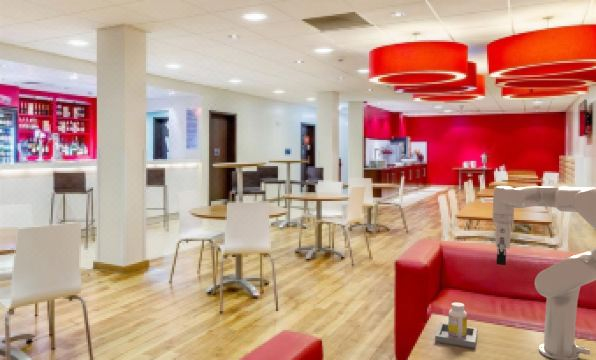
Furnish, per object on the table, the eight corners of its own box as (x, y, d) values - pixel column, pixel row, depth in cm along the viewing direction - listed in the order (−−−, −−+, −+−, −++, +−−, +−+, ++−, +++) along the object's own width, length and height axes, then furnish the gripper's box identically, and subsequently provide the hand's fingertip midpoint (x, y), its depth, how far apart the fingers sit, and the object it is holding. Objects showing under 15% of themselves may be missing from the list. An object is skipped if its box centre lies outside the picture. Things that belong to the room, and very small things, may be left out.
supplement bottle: (464, 333, 187) (465, 301, 186) (468, 341, 180) (469, 307, 179) (446, 333, 187) (447, 301, 186) (450, 340, 181) (451, 307, 180)
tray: (477, 334, 187) (477, 328, 187) (474, 348, 175) (475, 342, 174) (439, 328, 193) (440, 322, 193) (435, 342, 180) (435, 335, 180)
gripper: (513, 222, 176) (511, 268, 178) (513, 215, 192) (511, 257, 194) (491, 221, 179) (490, 266, 181) (493, 214, 195) (491, 255, 197)
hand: (501, 261), depth 187 cm, fingers open, 9 cm apart
